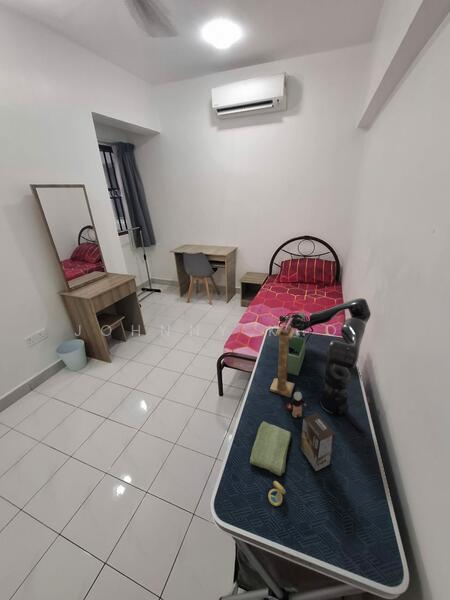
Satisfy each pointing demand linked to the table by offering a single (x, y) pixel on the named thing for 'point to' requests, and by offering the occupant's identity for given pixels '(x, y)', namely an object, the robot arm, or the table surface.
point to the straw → (288, 324)
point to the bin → (296, 355)
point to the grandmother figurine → (297, 404)
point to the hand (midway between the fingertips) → (291, 320)
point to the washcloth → (270, 448)
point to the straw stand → (283, 363)
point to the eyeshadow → (276, 494)
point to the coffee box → (317, 441)
